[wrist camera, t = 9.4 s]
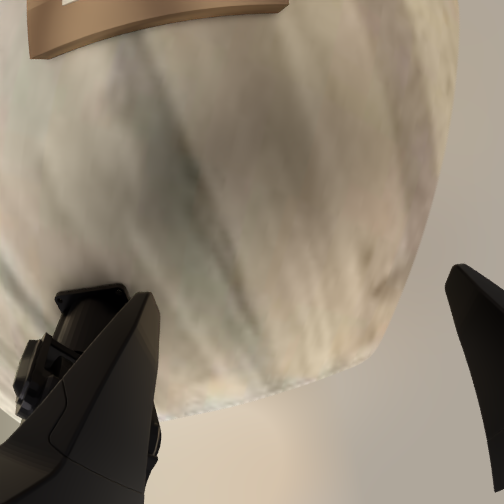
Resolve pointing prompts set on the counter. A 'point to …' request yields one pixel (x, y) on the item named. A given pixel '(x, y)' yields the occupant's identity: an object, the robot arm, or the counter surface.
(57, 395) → the robot arm
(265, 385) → the counter surface
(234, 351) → the counter surface
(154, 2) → the socket board
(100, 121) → the counter surface
